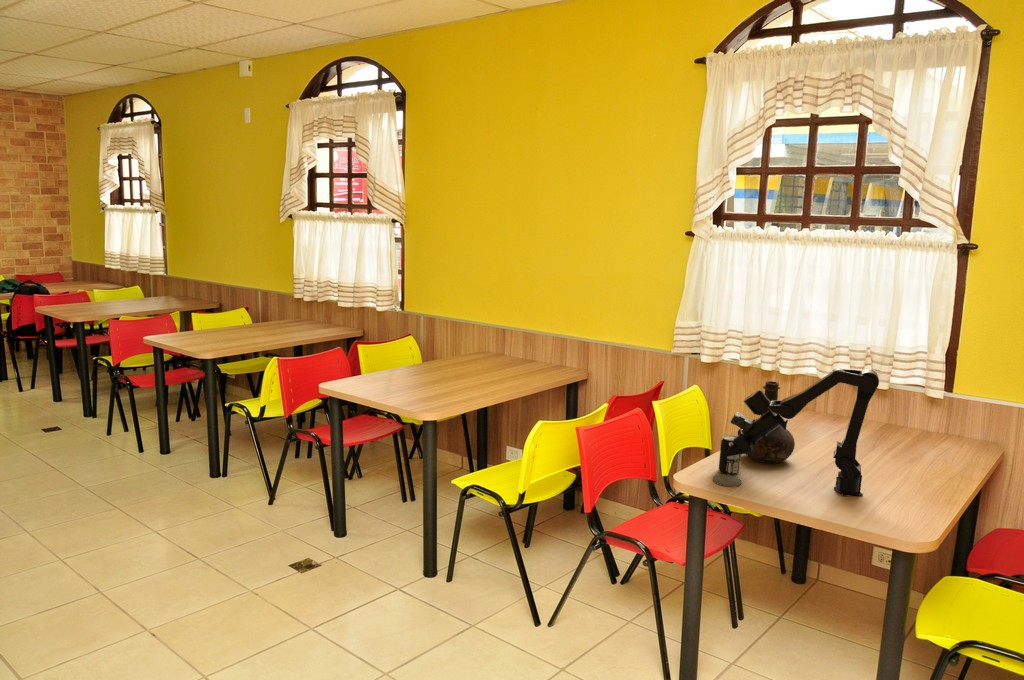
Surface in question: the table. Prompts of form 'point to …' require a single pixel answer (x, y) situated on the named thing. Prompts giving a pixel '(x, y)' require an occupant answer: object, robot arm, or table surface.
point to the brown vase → (773, 436)
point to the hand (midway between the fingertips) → (726, 452)
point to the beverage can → (731, 462)
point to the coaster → (727, 480)
